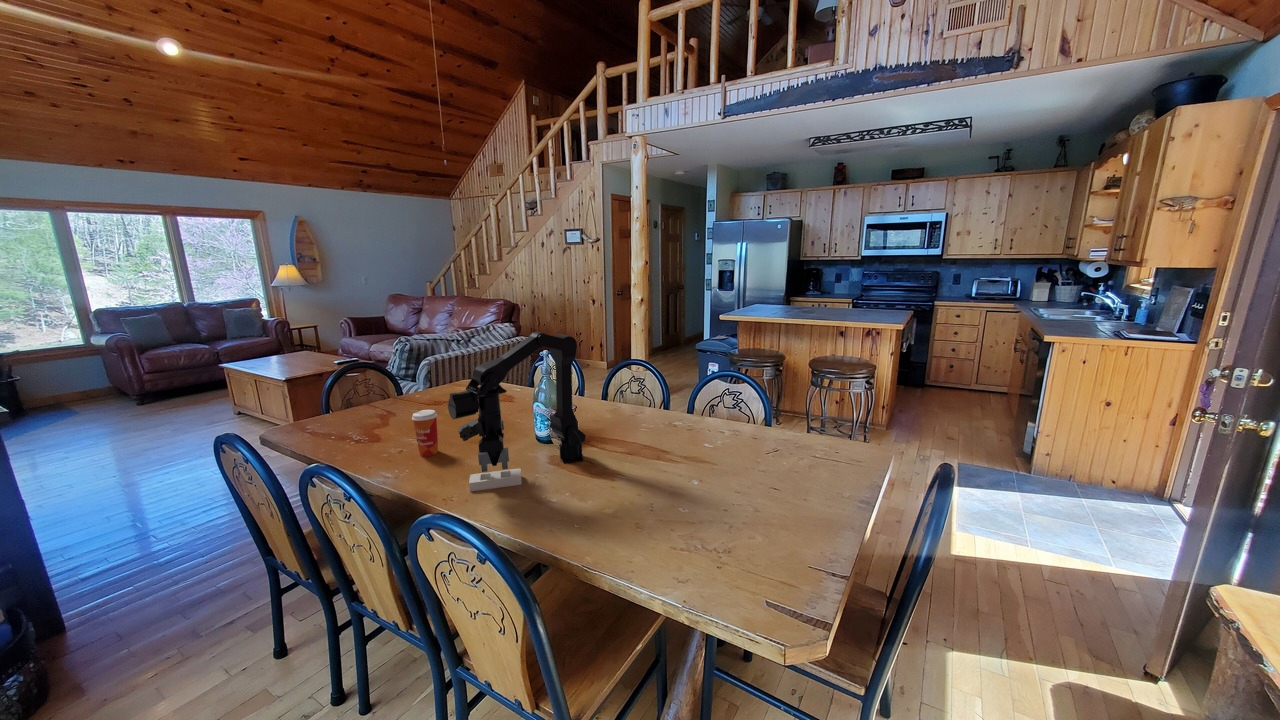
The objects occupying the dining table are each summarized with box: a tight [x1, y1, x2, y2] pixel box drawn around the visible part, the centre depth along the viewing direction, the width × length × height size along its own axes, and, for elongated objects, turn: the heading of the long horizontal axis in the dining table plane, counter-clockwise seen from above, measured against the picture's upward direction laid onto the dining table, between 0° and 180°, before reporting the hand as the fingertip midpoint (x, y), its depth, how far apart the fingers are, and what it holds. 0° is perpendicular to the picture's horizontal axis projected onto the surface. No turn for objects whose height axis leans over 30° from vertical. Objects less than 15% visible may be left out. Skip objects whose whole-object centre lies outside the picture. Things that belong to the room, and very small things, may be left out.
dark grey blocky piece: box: [477, 447, 510, 473], centre depth 137 cm, size 8×3×5 cm, turn 105°
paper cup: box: [411, 409, 439, 457], centre depth 160 cm, size 8×8×14 cm
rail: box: [468, 468, 523, 492], centre depth 138 cm, size 14×6×2 cm, turn 105°
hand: (494, 463), depth 137 cm, fingers closed on dark grey blocky piece, 3 cm apart
